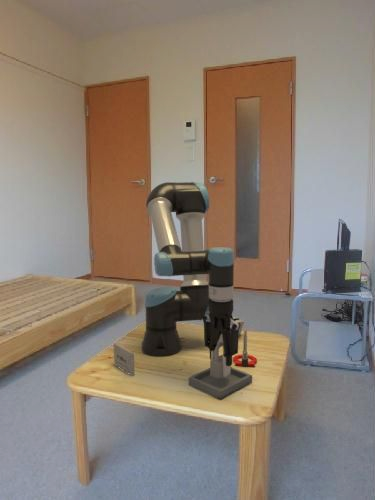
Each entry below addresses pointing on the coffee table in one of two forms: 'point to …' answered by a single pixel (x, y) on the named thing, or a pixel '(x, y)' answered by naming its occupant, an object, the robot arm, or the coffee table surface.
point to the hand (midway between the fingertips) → (220, 372)
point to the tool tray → (220, 382)
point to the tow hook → (245, 355)
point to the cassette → (124, 358)
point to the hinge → (230, 331)
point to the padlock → (217, 363)
